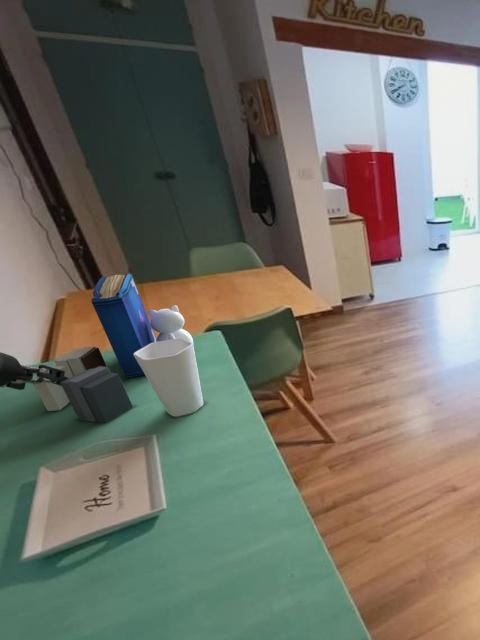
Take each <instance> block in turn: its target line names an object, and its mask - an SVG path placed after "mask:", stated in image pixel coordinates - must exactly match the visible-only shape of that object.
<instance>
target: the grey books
mask: <svg viewBox="0 0 480 640" xmlns="http://www.w3.org/2000/svg"><path fill="white" fill-rule="evenodd" d="M61 385H62V387H63V389H64V391H65V393H66V395H67V397H68V399H69V401H70V402H69V404H70V405H71V407H72V408H73V411H74V412H75V414H76V416H77V418H78V420H81V421H87V422H92V423H97V422H98V423H104V424H105V423H109V422H110V421H112V420H114V419H115V418H117V417H119V416H120V415H122V414H124V413H125V412H127V411H129V410H131V409H132V408H133V407H134V406H133V404H132V402H131V400H130V397H129V395H128V393H127V390H126V388H125V385H124V384H123V381H122V379H121V376H120V373H114V372H111V370H110V368H109V367H108V366H107V367H102V366H99V367H97V368H95V369H92V368H91V369H89V370H86V371H84V372H82V373H80V374H78V375H76V376H74V377H71V378H69V379H67V380H65V381H63V382H61Z"/></svg>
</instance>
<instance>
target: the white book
mask: <svg viewBox="0 0 480 640" xmlns="http://www.w3.org/2000/svg"><path fill="white" fill-rule="evenodd" d="M51 367H52V368H56V369H59V370H63V371H65V374H64V376H65V377H68V378H70V376H69V374H68V372H67V370H66V368H65V366H56V365H55V366H51ZM36 379H37V377H35V378H34V379H33V380H36ZM44 379H45V378H44ZM48 380H49V379H48ZM33 387H34V388H35V391H36V392H37V394H38V396H39V397H40V399H41V401H42V403H43V405H44V407H45V409H46V410H47V412H55V411H56V412H57V411H61V410H62V409H64V407H66V406H68V404H70V401H69V399H68V397H67V395H66V393H65V391H64V389H63V387H62V386H59V385H56V384H52V383H45V382H42V383H40V384H33Z"/></svg>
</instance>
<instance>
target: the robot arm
mask: <svg viewBox="0 0 480 640" xmlns="http://www.w3.org/2000/svg"><path fill="white" fill-rule="evenodd" d="M52 367H53V366H48V365H45V364H39V365H38V367H31V366H28V365H24V364H23V365H22V364H21V363H20V361H19V360H18V359H17V358H16V357H15V356H13V355H10V354H7V353H4V352H1V351H0V388H2V389H3V388H9V389H13V390H17V391H23V390H25V387H26V384H40V383H42V382H45V383H52V384H56V385H59V386H62V385H61V382H63V381H65V380H67V379H69V378H68V377H65V376H64V374H65V371H63V370H59V369H56V368H52ZM34 375H36V378H37V379H36V380H34V379H33V377H34ZM44 378H45V379H44ZM48 379H49V380H48Z"/></svg>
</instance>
